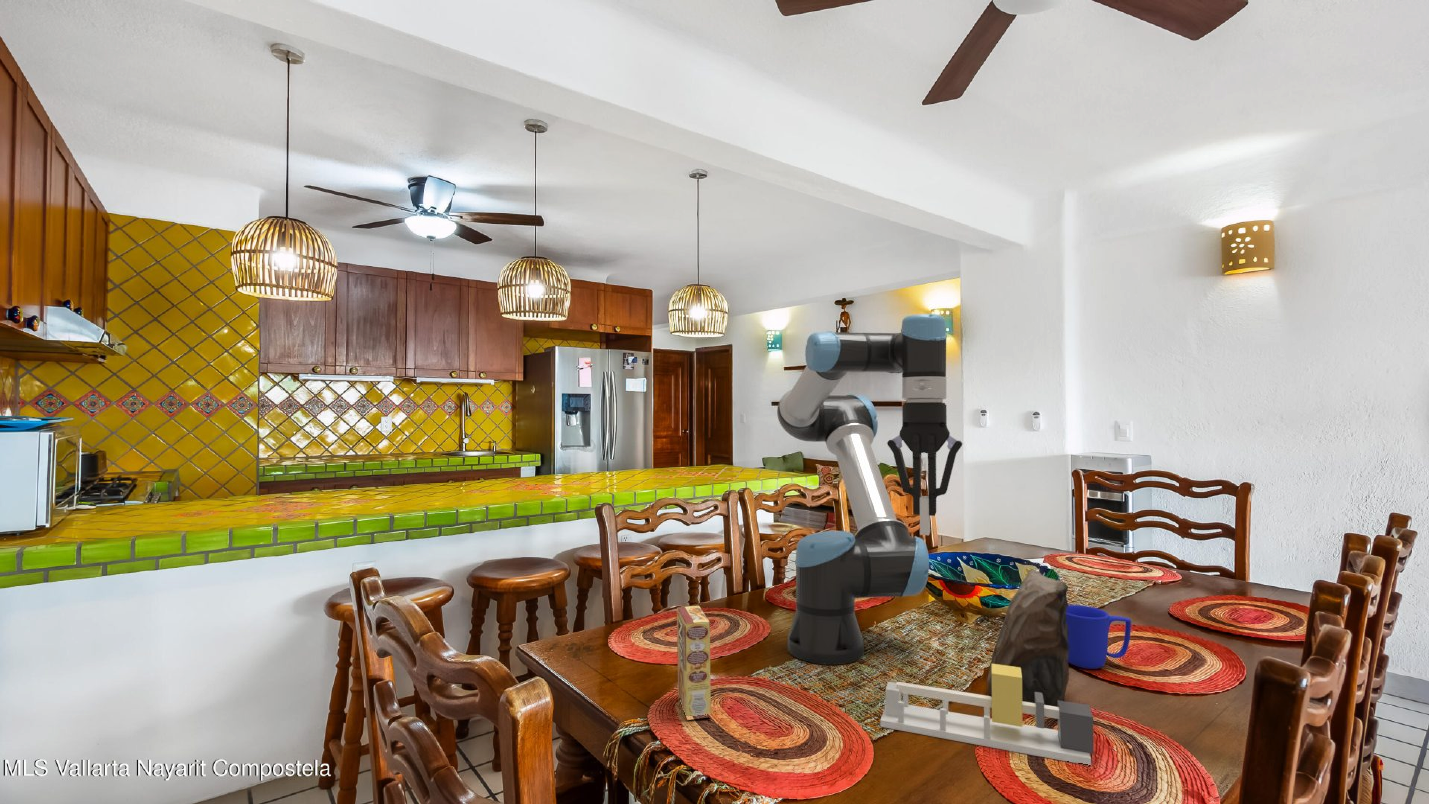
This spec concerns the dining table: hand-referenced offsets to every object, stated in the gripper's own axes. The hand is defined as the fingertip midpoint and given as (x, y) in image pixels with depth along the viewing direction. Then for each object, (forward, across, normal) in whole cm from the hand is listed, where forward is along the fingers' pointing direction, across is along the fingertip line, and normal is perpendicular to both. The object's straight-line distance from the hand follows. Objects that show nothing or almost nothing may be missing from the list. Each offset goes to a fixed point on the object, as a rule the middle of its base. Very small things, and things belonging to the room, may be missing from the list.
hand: (925, 533), depth 114 cm
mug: (+27, +29, +21) cm, 45 cm away
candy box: (+27, -34, -25) cm, 50 cm away
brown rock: (+27, +16, +2) cm, 31 cm away
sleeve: (+23, +13, -16) cm, 31 cm away
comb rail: (+26, +9, -16) cm, 32 cm away
